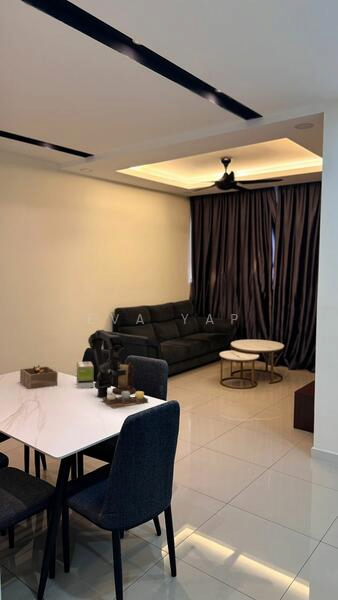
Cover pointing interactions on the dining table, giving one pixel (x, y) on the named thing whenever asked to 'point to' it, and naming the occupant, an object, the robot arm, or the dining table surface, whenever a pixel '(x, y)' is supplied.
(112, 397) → the cream button
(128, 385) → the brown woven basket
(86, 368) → the tea box
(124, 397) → the slate button
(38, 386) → the box
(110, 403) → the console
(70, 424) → the dining table surface
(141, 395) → the mustard button
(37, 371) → the bear figurine
